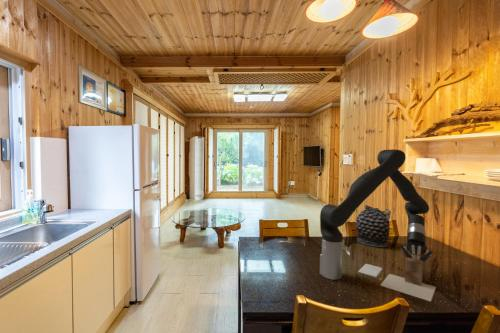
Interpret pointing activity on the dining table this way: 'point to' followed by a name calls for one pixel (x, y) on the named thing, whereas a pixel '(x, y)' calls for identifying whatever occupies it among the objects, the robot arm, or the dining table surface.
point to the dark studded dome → (373, 227)
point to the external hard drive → (370, 270)
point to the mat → (409, 287)
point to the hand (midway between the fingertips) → (415, 268)
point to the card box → (413, 271)
